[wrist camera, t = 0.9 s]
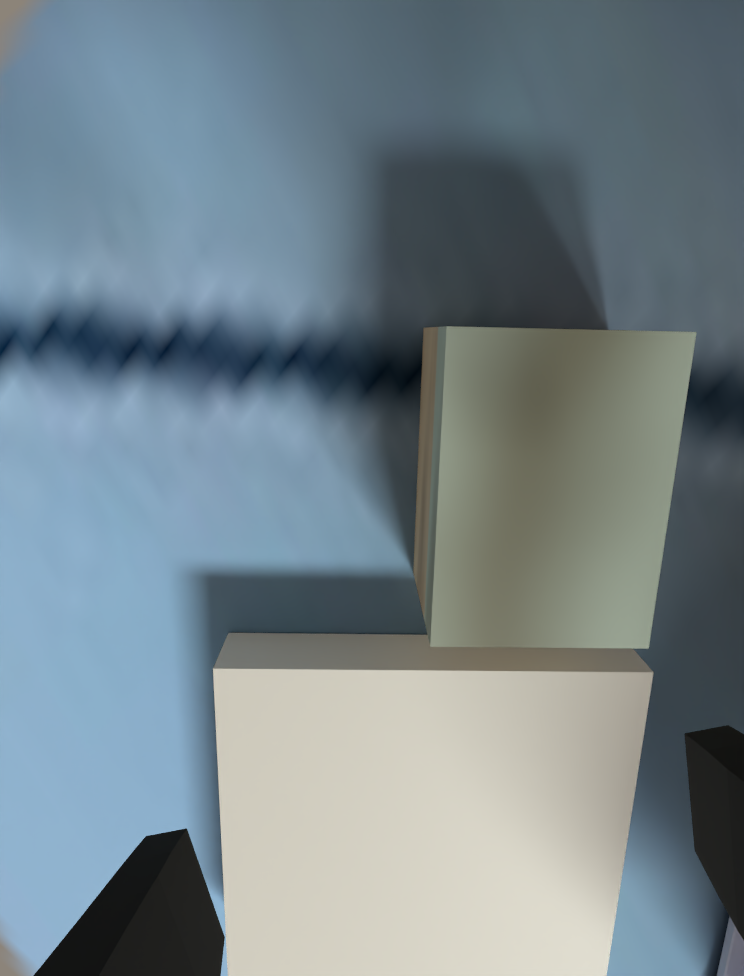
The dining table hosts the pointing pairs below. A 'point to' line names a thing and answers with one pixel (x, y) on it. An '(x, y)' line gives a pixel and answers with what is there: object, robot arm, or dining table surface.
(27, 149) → the dining table surface
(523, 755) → the white stand
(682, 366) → the sage green block
